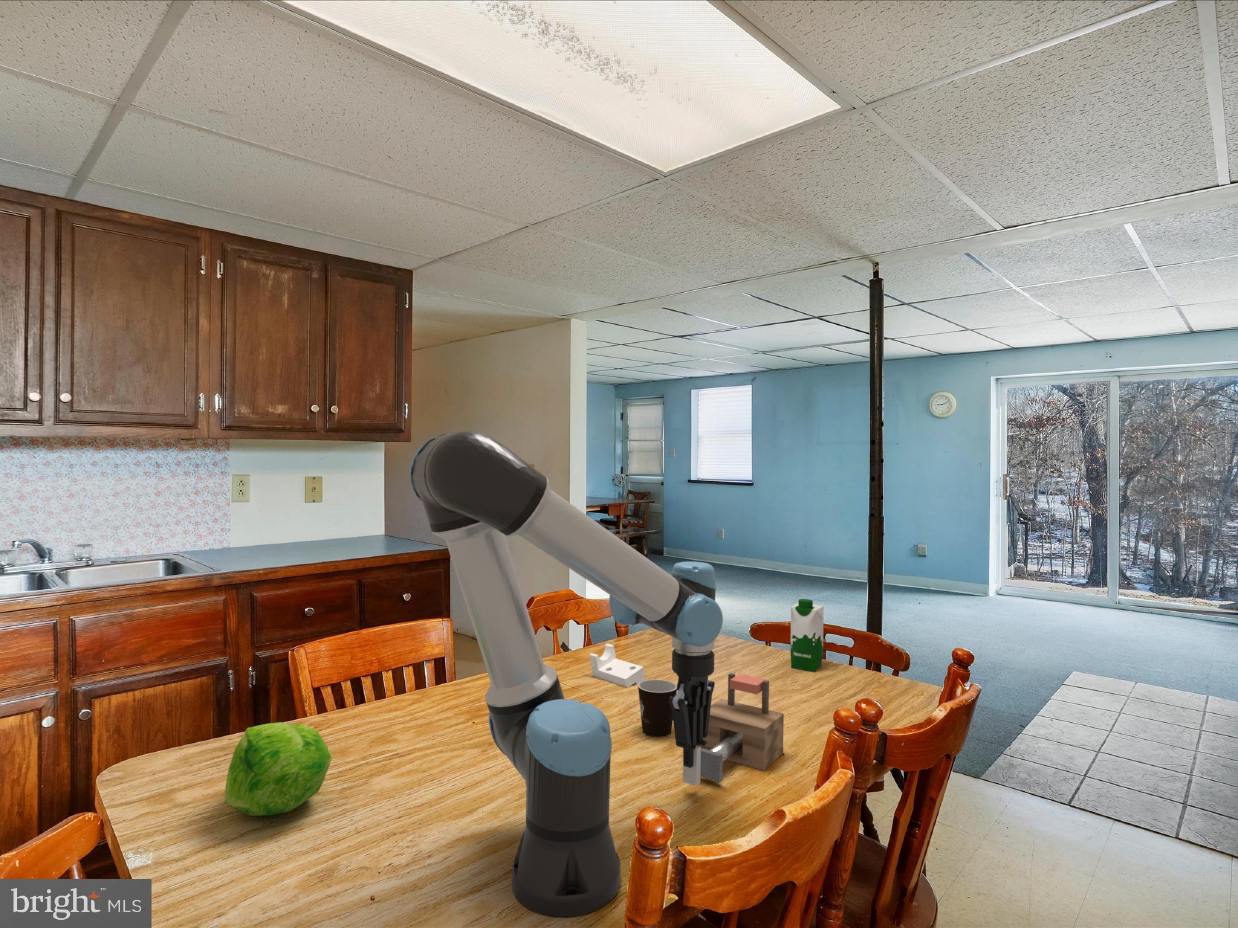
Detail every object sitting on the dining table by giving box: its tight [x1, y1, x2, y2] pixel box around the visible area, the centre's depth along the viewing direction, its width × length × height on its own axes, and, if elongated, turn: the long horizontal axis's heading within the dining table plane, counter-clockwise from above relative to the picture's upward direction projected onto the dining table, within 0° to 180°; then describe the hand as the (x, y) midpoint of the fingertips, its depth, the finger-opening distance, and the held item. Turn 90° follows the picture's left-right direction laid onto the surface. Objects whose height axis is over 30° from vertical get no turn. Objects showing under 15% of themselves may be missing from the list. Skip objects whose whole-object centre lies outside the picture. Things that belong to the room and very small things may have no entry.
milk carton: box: [790, 598, 825, 673], centre depth 195 cm, size 9×9×20 cm
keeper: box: [730, 673, 768, 695], centre depth 138 cm, size 5×6×2 cm
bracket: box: [589, 643, 646, 688], centre depth 181 cm, size 13×7×8 cm, turn 45°
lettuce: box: [224, 721, 333, 817], centre depth 112 cm, size 15×20×14 cm
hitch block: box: [700, 672, 785, 771], centre depth 136 cm, size 10×14×14 cm
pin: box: [700, 732, 743, 784], centre depth 129 cm, size 15×6×5 cm, turn 145°
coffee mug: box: [637, 678, 678, 738], centre depth 147 cm, size 12×9×10 cm
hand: (691, 781), depth 118 cm, fingers closed
